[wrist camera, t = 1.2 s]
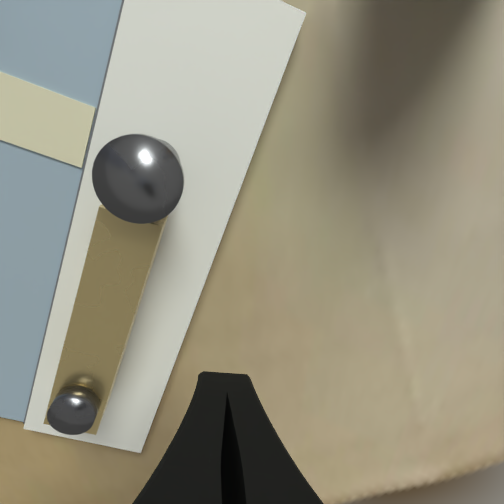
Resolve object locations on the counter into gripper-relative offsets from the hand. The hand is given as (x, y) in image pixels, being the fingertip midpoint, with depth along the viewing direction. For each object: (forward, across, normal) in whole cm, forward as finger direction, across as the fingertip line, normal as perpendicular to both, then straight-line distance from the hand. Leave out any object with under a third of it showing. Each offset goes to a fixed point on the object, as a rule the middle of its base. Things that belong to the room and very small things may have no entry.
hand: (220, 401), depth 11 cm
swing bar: (+7, +5, +1) cm, 8 cm away
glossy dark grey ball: (+8, +3, -5) cm, 10 cm away
